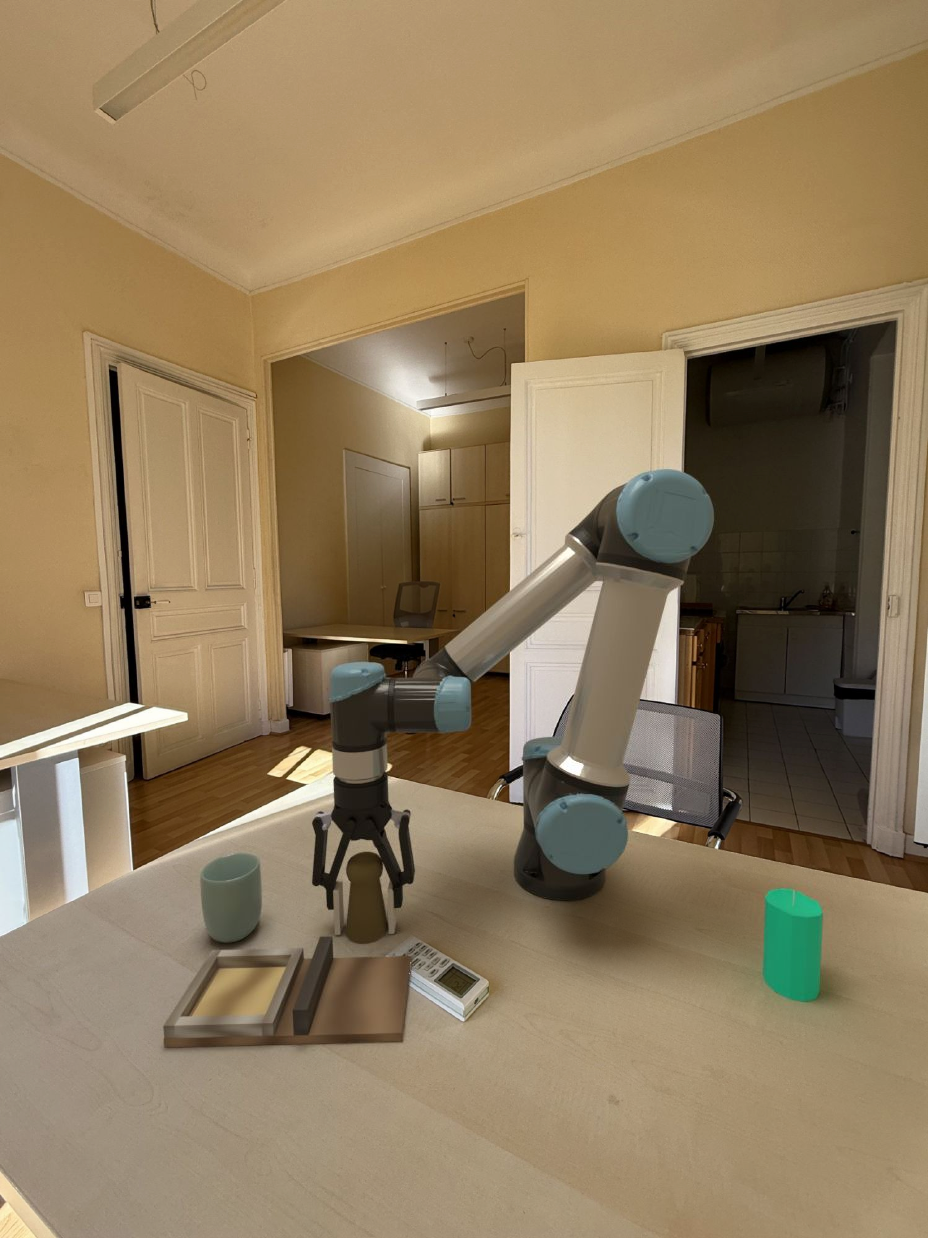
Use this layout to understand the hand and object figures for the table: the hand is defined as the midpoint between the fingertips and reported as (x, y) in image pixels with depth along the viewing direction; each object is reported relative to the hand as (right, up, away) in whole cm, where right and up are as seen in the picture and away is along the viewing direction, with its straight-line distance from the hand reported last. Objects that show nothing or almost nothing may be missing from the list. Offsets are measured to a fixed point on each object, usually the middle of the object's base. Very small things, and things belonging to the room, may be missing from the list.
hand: (366, 928), depth 79 cm
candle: (+54, 0, -12) cm, 55 cm away
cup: (-19, -1, 0) cm, 19 cm away
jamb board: (-6, -2, -13) cm, 14 cm away
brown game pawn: (0, 0, 0) cm, 0 cm away
